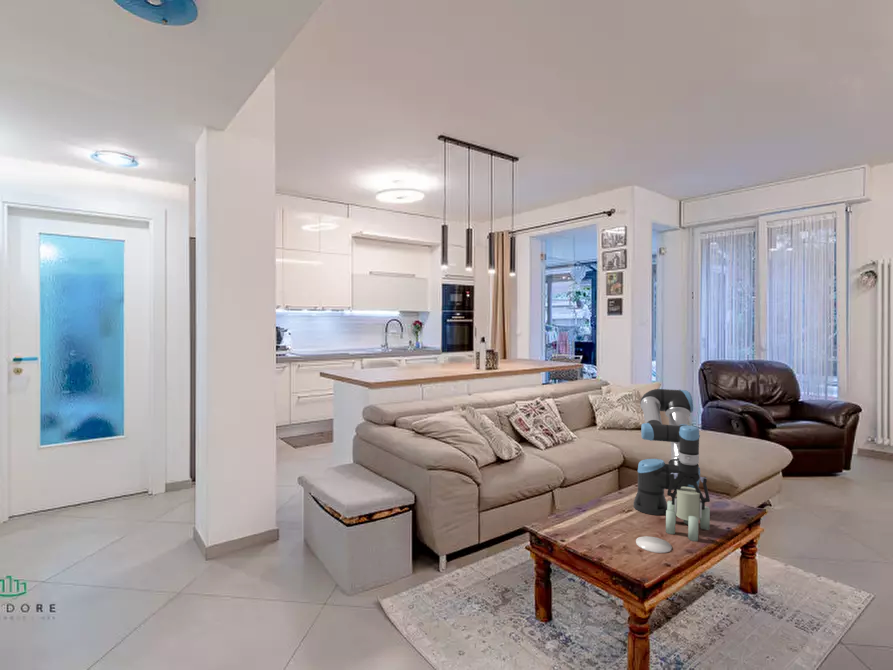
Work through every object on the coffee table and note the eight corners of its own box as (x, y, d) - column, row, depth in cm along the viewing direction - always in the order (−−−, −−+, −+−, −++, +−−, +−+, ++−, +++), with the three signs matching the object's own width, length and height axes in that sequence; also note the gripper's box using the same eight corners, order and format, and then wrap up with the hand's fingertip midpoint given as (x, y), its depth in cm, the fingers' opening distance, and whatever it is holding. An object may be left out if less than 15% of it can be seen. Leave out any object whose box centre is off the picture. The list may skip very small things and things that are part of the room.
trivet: (634, 548, 183) (634, 546, 183) (637, 535, 195) (637, 533, 195) (670, 555, 177) (670, 554, 177) (672, 542, 189) (672, 540, 189)
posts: (665, 535, 195) (665, 514, 194) (667, 517, 213) (667, 498, 213) (710, 544, 187) (711, 522, 187) (709, 525, 205) (709, 504, 205)
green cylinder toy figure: (690, 523, 194) (691, 494, 194) (671, 514, 202) (671, 487, 202) (704, 518, 198) (705, 490, 198) (684, 510, 207) (685, 483, 206)
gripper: (660, 461, 201) (659, 512, 202) (718, 469, 191) (717, 523, 192) (661, 456, 208) (660, 506, 209) (717, 463, 198) (716, 516, 199)
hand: (687, 514), depth 200 cm, fingers closed on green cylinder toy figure, 9 cm apart
